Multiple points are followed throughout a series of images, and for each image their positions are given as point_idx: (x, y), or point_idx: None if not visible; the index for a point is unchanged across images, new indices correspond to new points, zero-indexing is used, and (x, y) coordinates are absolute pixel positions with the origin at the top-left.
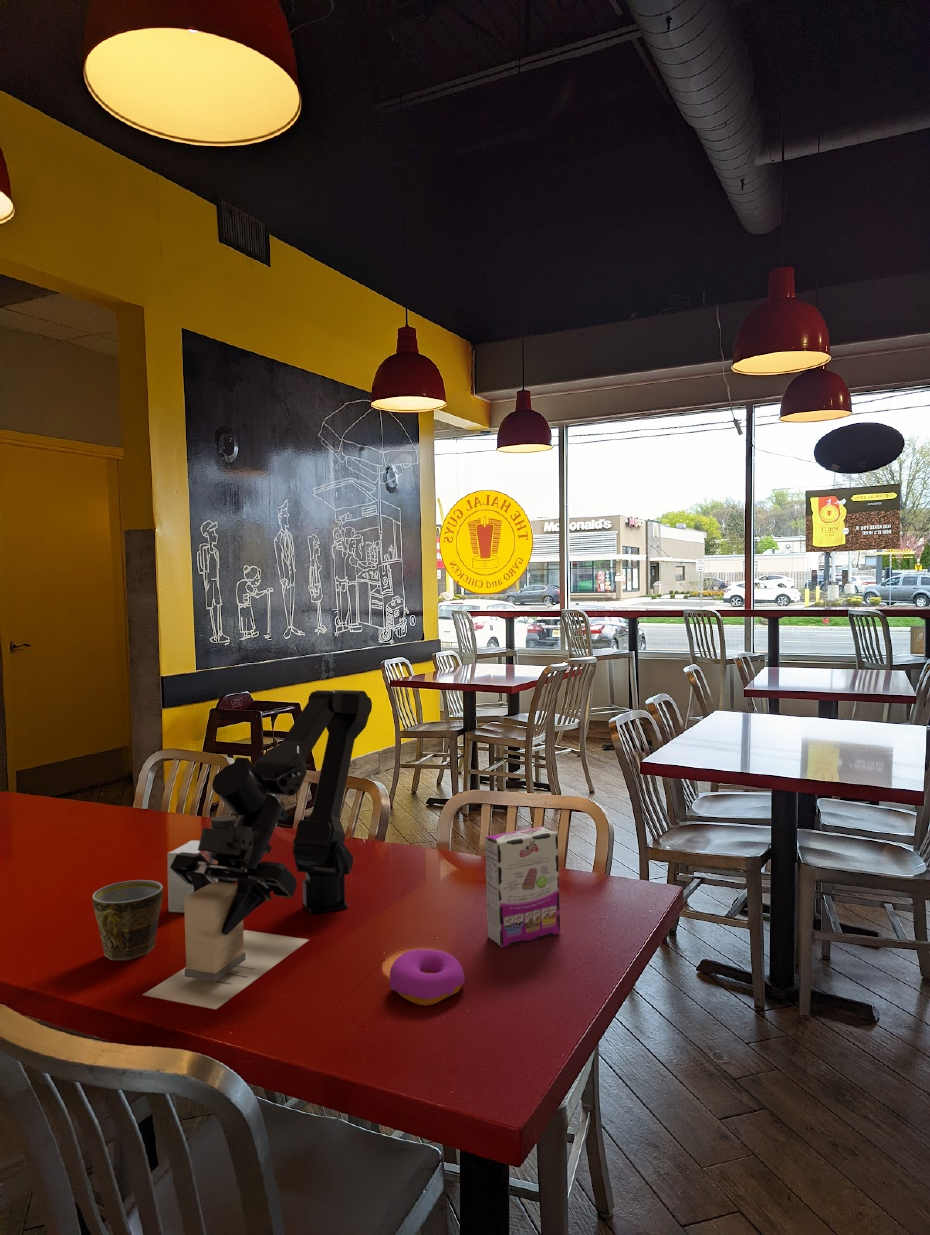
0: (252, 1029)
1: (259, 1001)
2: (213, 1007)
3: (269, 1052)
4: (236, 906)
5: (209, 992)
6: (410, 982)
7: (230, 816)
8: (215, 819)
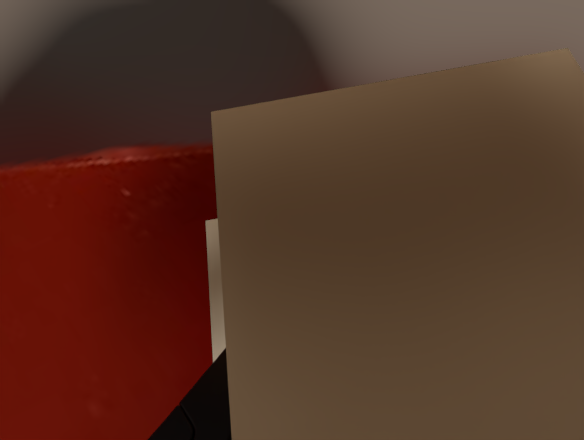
0: (85, 224)
1: (147, 342)
2: (217, 223)
3: (3, 178)
4: (179, 411)
5: None
6: None
7: None
8: None
